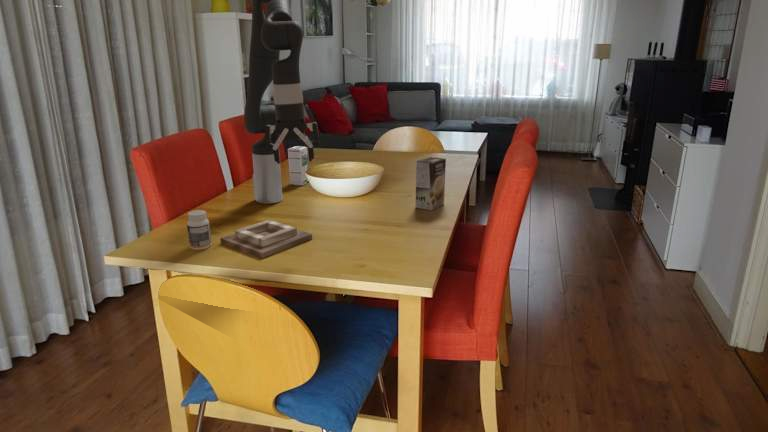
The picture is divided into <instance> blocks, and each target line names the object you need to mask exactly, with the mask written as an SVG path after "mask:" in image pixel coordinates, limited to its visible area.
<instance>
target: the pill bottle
mask: <svg viewBox="0 0 768 432" xmlns="http://www.w3.org/2000/svg"><path fill="white" fill-rule="evenodd" d="M187 217H188V219H189V220H188V221H187V222H186V228H187V233H188V234H187V236H188V242H189V243H188V244H189V248H190V249H192V250H194V251H195V250H196V251H200V250H201V251H202V250H205V249H209V248H210V247H212V237H211V227H210V221H209V219H208V218H207V211H206V210H204V209H196V210H191V211H189V212H187Z"/></svg>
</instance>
